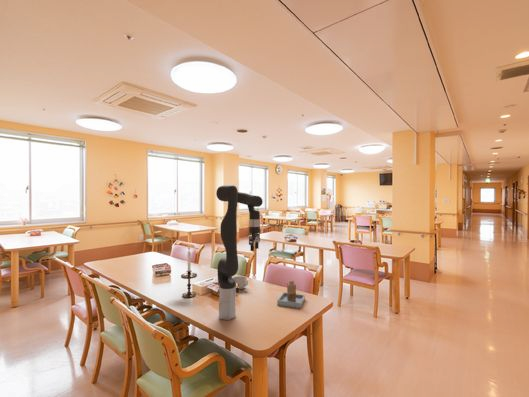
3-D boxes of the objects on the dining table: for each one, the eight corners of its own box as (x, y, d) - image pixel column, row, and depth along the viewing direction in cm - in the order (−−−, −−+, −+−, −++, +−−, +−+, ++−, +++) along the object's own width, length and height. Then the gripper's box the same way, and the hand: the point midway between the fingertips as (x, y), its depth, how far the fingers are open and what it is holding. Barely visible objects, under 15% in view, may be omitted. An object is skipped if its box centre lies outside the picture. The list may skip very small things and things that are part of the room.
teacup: (229, 287, 200) (229, 277, 200) (241, 284, 207) (241, 274, 207) (240, 292, 190) (240, 281, 190) (252, 289, 197) (252, 278, 197)
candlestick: (192, 299, 178) (192, 247, 177) (177, 297, 180) (177, 246, 180) (199, 293, 188) (199, 244, 188) (185, 292, 190) (185, 243, 190)
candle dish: (300, 308, 163) (300, 303, 163) (277, 304, 168) (277, 300, 168) (305, 299, 177) (305, 294, 177) (283, 296, 182) (283, 292, 182)
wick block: (295, 301, 171) (295, 281, 171) (289, 302, 170) (289, 282, 170) (293, 299, 176) (293, 279, 175) (287, 299, 175) (287, 280, 175)
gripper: (256, 227, 171) (256, 252, 171) (263, 225, 184) (263, 248, 184) (245, 226, 173) (245, 251, 173) (253, 224, 186) (253, 247, 187)
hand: (254, 249), depth 179 cm, fingers open, 8 cm apart
